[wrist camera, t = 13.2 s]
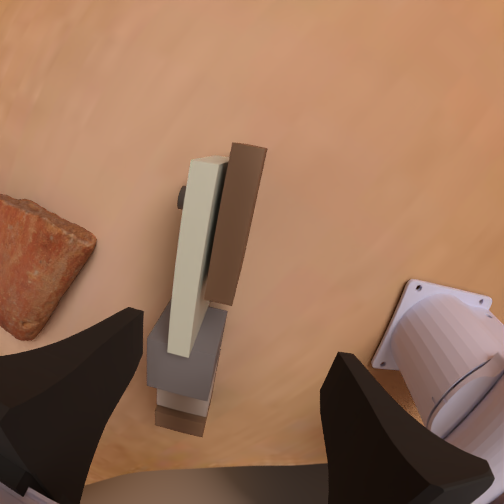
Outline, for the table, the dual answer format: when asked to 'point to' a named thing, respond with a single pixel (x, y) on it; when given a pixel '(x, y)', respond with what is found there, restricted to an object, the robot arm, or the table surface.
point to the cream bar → (195, 250)
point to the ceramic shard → (36, 263)
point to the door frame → (220, 272)
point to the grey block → (182, 368)
